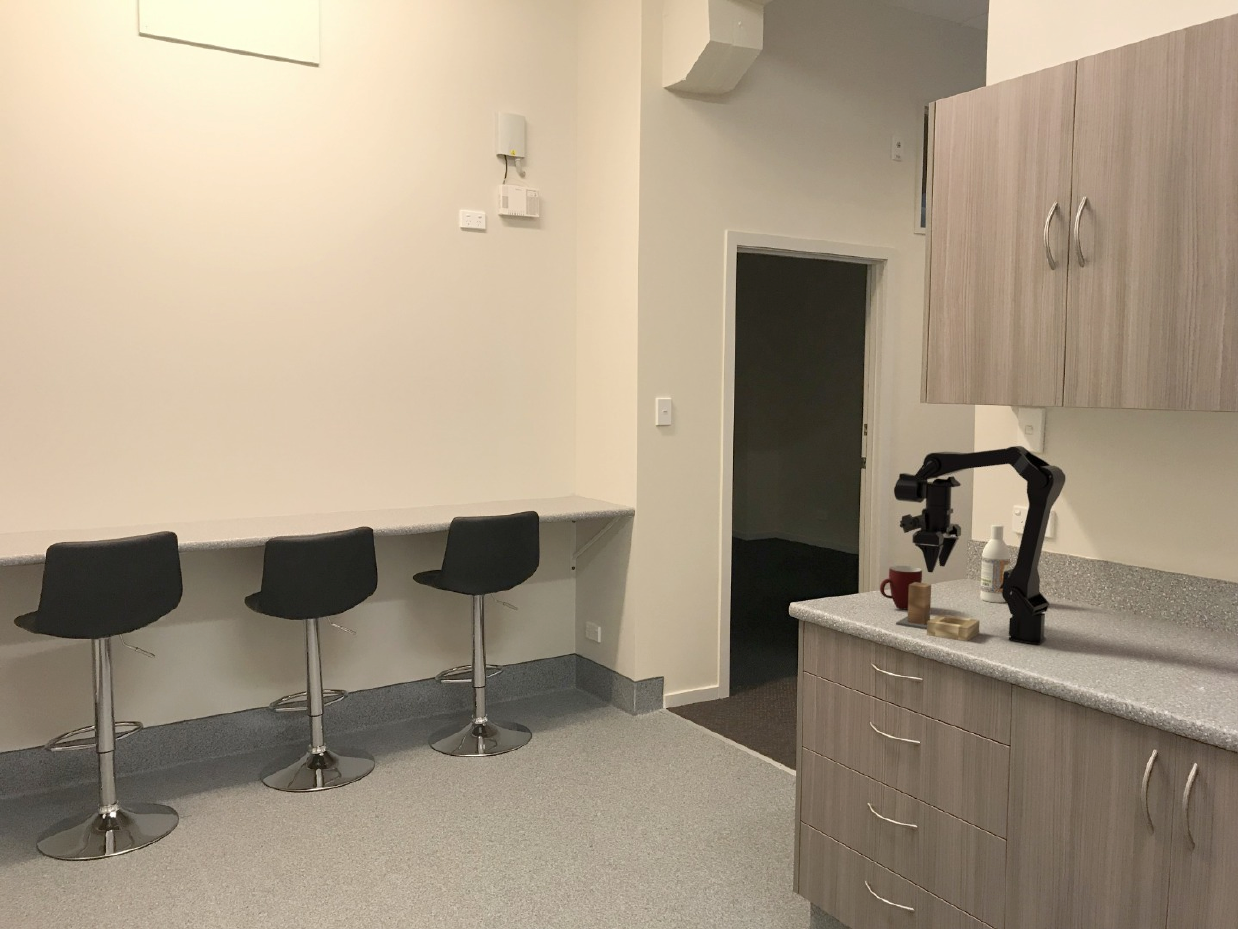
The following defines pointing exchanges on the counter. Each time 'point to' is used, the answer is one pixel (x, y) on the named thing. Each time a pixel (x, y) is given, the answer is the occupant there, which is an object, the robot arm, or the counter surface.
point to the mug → (901, 583)
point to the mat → (905, 623)
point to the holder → (953, 627)
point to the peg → (919, 603)
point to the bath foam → (994, 566)
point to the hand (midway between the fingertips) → (936, 569)
